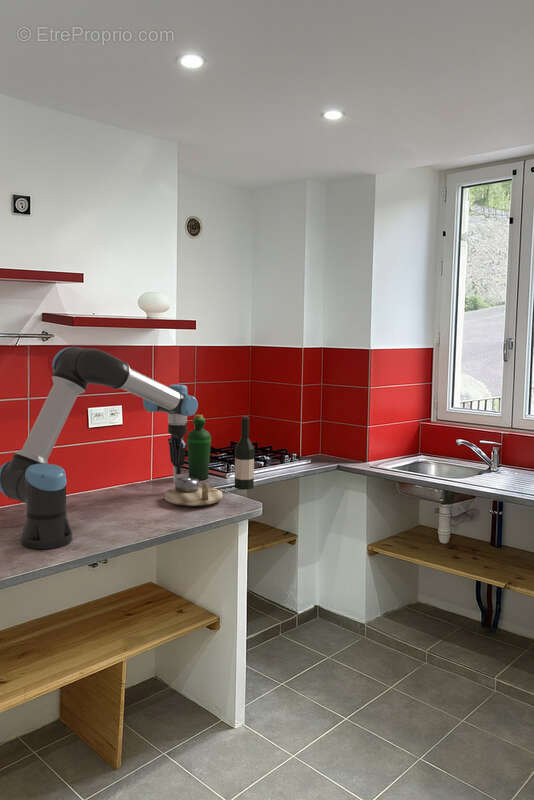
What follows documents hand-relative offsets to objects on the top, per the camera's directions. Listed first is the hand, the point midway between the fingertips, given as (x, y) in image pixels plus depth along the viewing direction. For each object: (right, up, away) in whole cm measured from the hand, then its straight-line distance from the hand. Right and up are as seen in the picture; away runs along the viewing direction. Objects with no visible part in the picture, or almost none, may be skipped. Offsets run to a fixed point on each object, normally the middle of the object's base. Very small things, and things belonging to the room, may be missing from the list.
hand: (177, 481), depth 263 cm
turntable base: (+8, -6, -12) cm, 15 cm away
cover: (+5, -2, -7) cm, 9 cm away
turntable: (+8, -5, -12) cm, 15 cm away
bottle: (+6, -2, +24) cm, 25 cm away
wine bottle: (+26, -4, +11) cm, 29 cm away
